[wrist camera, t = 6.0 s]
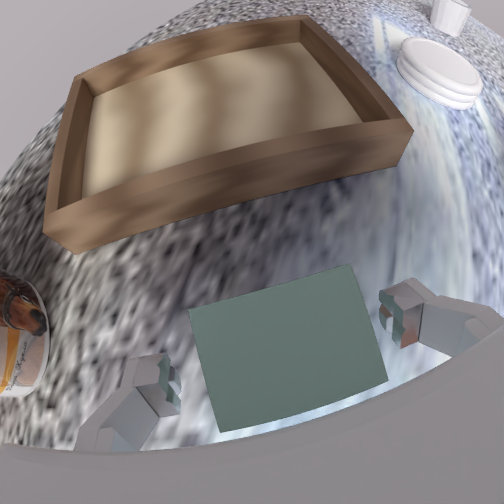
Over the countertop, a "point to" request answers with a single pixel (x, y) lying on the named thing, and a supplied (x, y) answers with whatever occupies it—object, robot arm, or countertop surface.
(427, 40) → the white round disc stack
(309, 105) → the wooden serving tray
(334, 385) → the grey-green rectangular block
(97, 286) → the countertop surface
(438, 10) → the white cylinder
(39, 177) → the countertop surface
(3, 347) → the mug
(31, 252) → the countertop surface
